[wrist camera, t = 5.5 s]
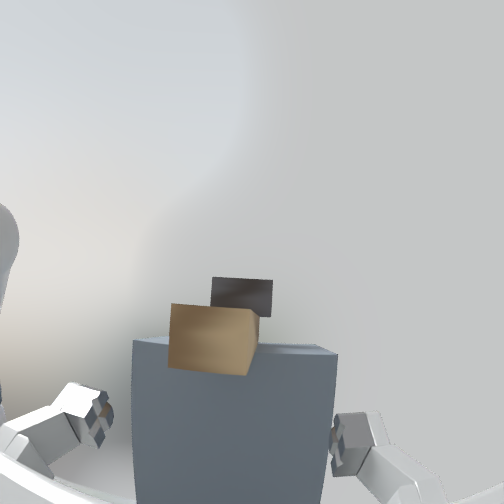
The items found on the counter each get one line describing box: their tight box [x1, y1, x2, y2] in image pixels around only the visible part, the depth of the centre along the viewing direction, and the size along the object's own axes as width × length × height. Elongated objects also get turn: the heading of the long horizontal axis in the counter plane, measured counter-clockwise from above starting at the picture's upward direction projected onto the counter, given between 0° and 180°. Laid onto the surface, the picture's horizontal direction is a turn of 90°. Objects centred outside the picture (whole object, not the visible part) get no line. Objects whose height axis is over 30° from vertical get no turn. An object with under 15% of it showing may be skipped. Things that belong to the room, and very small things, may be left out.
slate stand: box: [131, 336, 338, 504], centre depth 22 cm, size 14×10×26 cm
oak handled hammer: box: [168, 277, 273, 376], centre depth 20 cm, size 5×18×6 cm, turn 178°
